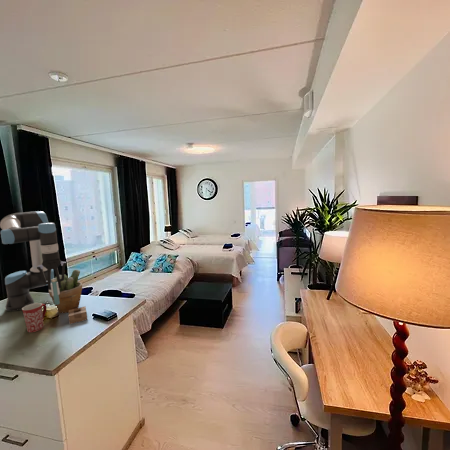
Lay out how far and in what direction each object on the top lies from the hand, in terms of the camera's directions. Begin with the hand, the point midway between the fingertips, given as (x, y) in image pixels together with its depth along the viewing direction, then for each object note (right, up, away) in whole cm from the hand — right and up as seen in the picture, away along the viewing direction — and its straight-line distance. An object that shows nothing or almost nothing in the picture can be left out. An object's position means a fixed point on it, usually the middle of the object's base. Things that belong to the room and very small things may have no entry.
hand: (55, 294), depth 139 cm
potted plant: (-10, -18, +27) cm, 34 cm away
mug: (-14, -21, +6) cm, 25 cm away
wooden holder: (+4, -18, +14) cm, 23 cm away
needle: (0, -5, +1) cm, 5 cm away
